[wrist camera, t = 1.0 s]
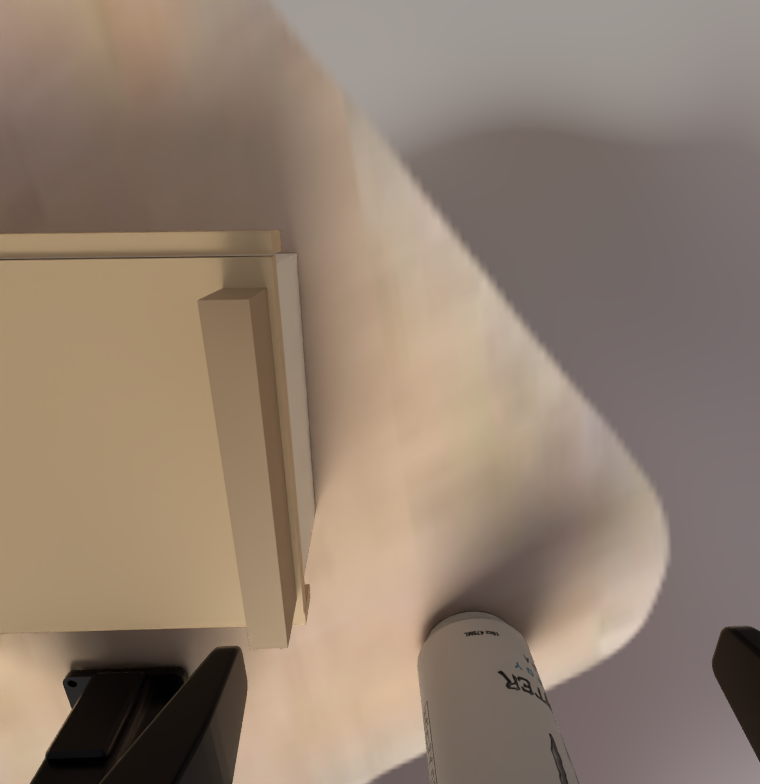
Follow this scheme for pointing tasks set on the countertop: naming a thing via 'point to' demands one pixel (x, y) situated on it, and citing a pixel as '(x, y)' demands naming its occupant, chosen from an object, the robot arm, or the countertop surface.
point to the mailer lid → (146, 436)
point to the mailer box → (290, 388)
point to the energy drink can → (487, 707)
